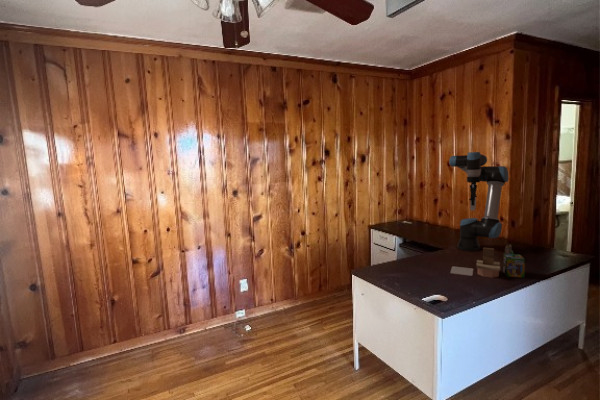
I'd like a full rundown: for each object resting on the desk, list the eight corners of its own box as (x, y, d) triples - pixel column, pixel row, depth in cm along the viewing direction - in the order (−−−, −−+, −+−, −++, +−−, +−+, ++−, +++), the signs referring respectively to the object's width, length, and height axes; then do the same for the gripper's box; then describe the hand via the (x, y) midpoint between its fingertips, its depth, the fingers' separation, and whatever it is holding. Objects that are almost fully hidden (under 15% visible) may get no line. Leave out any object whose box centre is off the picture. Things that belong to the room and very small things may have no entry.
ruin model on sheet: (509, 259, 215) (510, 245, 214) (504, 258, 217) (505, 245, 216) (512, 255, 224) (512, 241, 223) (507, 254, 226) (507, 241, 225)
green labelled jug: (524, 278, 182) (525, 253, 180) (506, 277, 186) (506, 252, 184) (520, 272, 191) (521, 248, 189) (502, 271, 194) (503, 248, 192)
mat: (452, 267, 206) (452, 266, 206) (473, 269, 200) (473, 268, 200) (450, 273, 195) (450, 273, 195) (472, 276, 189) (472, 275, 189)
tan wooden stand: (476, 261, 198) (477, 245, 197) (499, 264, 192) (500, 247, 191) (476, 267, 188) (476, 250, 187) (500, 270, 182) (500, 252, 181)
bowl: (477, 270, 198) (477, 262, 197) (498, 272, 193) (498, 264, 192) (477, 276, 189) (477, 267, 188) (499, 279, 183) (499, 270, 182)
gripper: (468, 174, 217) (467, 205, 220) (465, 177, 196) (465, 211, 199) (480, 174, 214) (480, 205, 216) (479, 177, 192) (479, 212, 195)
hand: (473, 208), depth 208 cm, fingers open, 13 cm apart
